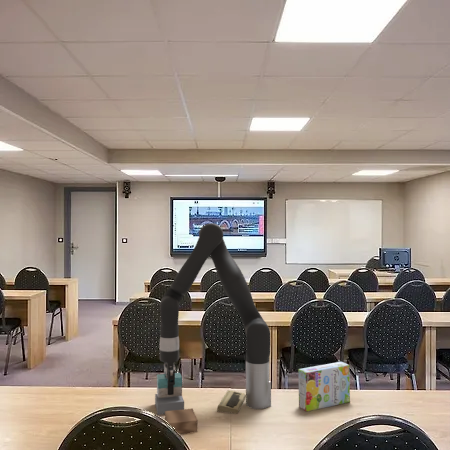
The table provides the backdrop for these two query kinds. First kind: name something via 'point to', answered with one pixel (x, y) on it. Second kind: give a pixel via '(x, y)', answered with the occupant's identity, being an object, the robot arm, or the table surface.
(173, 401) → the stand
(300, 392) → the snack box
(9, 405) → the table surface
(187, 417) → the stand
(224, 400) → the computer
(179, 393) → the housing
